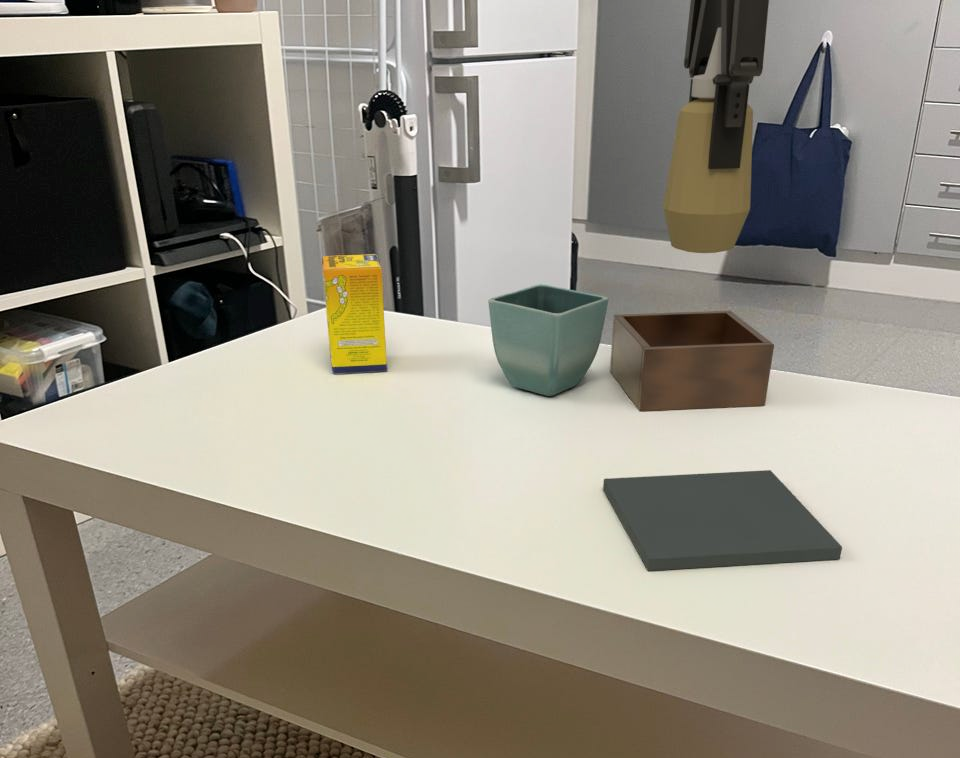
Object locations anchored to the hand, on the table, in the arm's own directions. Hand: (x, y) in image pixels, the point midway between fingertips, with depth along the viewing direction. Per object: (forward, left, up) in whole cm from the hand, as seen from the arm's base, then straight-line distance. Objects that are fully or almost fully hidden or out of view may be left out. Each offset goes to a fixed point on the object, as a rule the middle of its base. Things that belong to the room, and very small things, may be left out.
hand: (711, 162), depth 92 cm
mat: (+7, +31, -21) cm, 38 cm away
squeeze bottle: (0, 0, -8) cm, 8 cm away
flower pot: (+14, -2, -21) cm, 26 cm away
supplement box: (+33, -12, -21) cm, 41 cm away
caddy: (0, 0, -21) cm, 21 cm away
